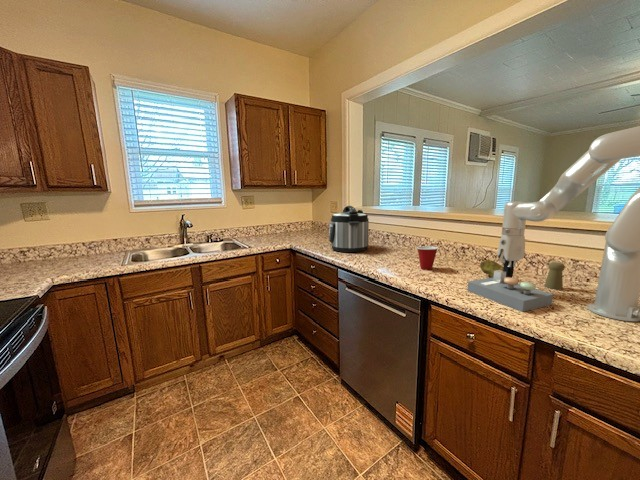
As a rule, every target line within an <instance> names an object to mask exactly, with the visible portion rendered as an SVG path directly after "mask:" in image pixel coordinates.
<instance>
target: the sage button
mask: <svg viewBox="0 0 640 480" xmlns="http://www.w3.org/2000/svg"><path fill="white" fill-rule="evenodd" d="M519 284H520V287H521V288H523V289H524V293H523V294H524V295H527V296H530V293H531V290H535V289H536V287H537V285H536V283H533V282H529V281H522V282H520V283H519Z"/></svg>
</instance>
